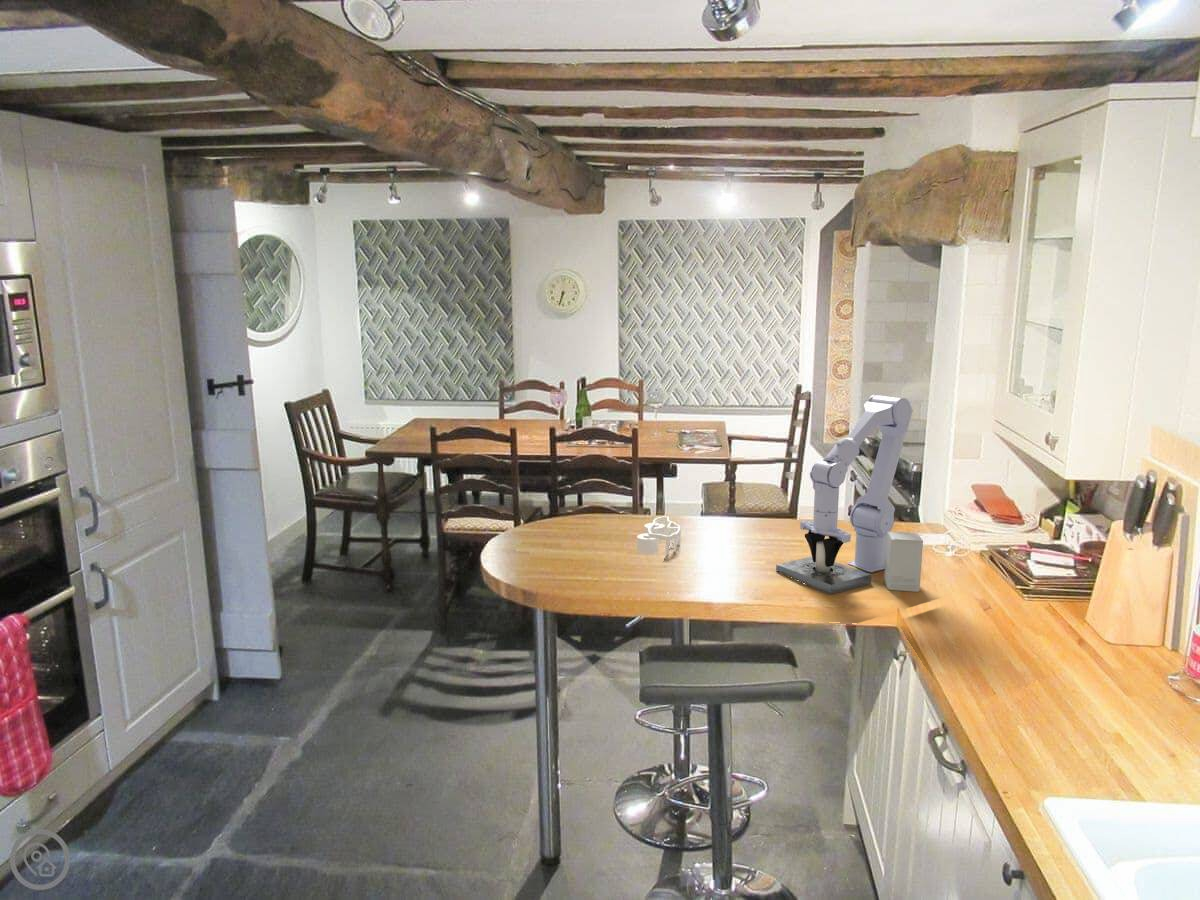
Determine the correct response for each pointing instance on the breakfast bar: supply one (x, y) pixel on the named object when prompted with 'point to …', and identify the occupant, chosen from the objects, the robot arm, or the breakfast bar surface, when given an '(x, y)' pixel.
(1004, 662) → the breakfast bar surface
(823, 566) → the peg
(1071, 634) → the breakfast bar surface
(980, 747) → the breakfast bar surface
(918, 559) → the supplement box
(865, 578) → the socket plate
